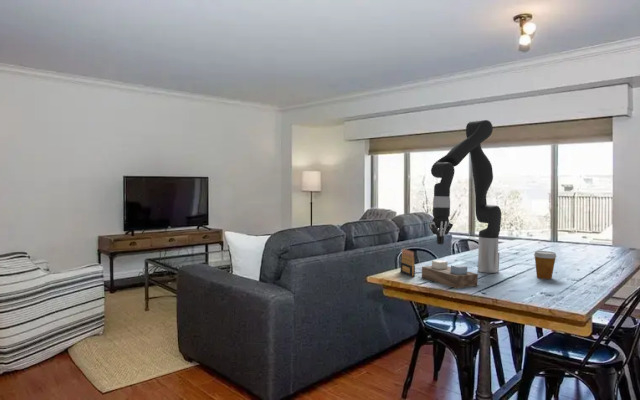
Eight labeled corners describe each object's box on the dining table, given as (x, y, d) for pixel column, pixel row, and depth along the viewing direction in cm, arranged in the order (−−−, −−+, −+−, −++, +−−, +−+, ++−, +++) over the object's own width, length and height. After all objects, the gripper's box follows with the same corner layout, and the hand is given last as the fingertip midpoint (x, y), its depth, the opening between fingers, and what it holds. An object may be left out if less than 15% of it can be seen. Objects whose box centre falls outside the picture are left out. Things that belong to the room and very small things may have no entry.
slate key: (458, 273, 192) (459, 264, 192) (467, 275, 188) (467, 266, 188) (450, 274, 190) (450, 265, 190) (458, 276, 186) (458, 267, 186)
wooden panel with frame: (414, 276, 203) (415, 251, 203) (411, 277, 203) (412, 251, 202) (403, 272, 213) (404, 247, 213) (400, 272, 213) (400, 247, 212)
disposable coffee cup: (554, 276, 208) (555, 251, 207) (556, 280, 199) (557, 254, 199) (532, 274, 212) (533, 250, 211) (533, 278, 203) (534, 252, 203)
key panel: (441, 275, 207) (442, 264, 207) (477, 285, 188) (477, 274, 187) (421, 277, 202) (422, 266, 202) (456, 288, 182) (456, 276, 182)
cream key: (439, 268, 203) (440, 260, 203) (447, 270, 199) (447, 261, 199) (431, 269, 201) (432, 260, 201) (439, 271, 197) (439, 262, 196)
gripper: (446, 205, 205) (445, 242, 206) (424, 205, 199) (423, 243, 200) (458, 206, 198) (457, 244, 199) (435, 206, 192) (434, 246, 193)
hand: (440, 244), depth 199 cm, fingers closed
